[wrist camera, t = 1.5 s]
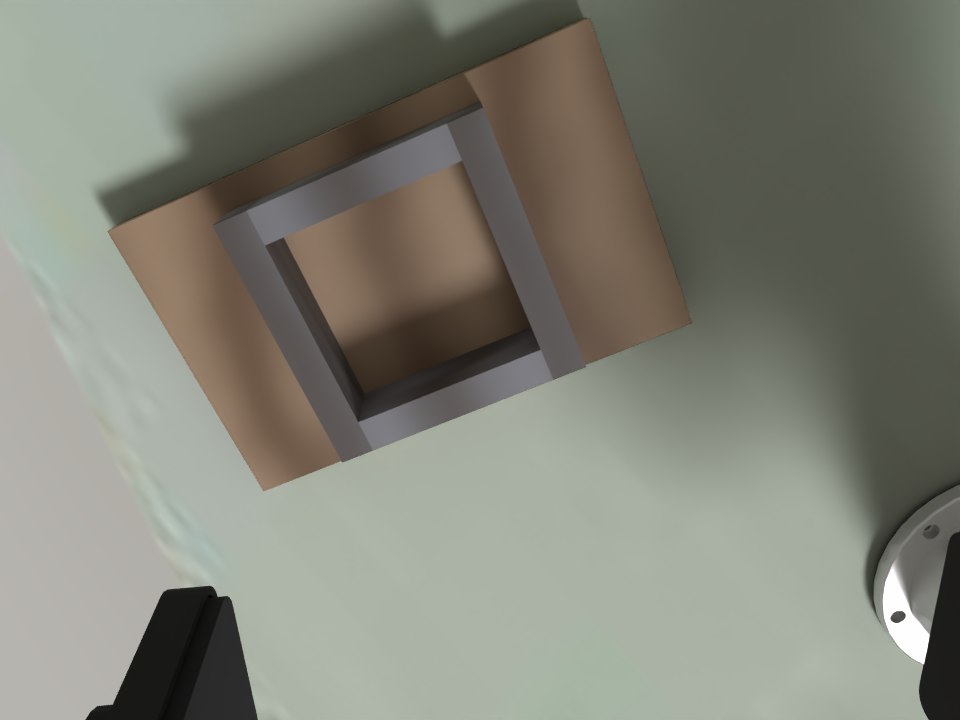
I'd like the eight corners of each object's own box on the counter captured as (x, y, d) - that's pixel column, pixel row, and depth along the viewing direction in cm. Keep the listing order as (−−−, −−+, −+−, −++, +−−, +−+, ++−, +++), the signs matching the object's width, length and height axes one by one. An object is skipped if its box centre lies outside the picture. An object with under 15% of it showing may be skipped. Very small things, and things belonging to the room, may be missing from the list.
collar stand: (584, 18, 34) (603, 16, 30) (683, 312, 39) (712, 346, 35) (120, 223, 36) (78, 248, 32) (269, 475, 42) (249, 525, 37)
